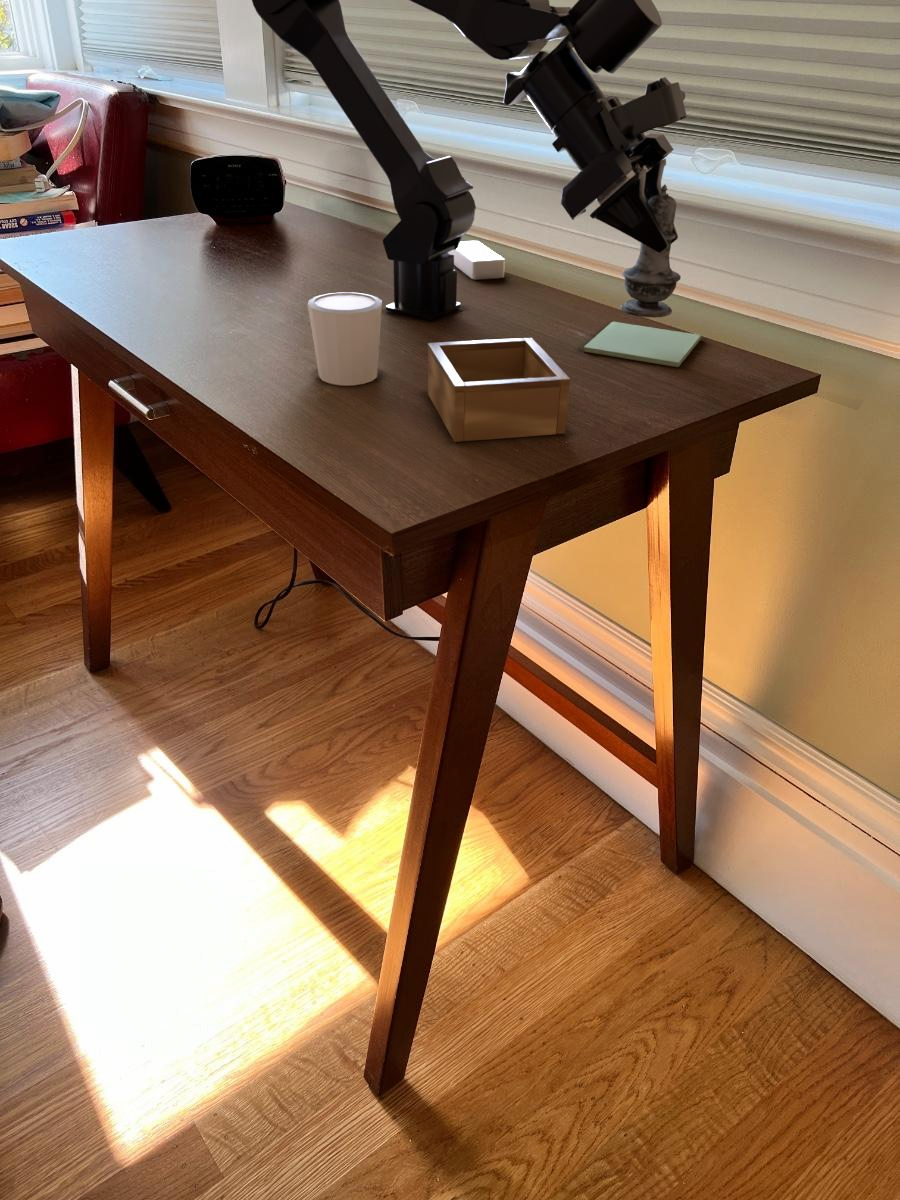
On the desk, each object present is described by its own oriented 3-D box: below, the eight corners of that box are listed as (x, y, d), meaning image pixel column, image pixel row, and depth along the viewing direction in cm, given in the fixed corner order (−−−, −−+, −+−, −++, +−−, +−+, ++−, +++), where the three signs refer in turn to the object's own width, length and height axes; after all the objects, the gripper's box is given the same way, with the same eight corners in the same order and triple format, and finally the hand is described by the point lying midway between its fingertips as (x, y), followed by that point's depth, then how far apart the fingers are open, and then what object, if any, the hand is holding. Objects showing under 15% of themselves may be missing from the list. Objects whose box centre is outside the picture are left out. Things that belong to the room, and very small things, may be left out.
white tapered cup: (355, 393, 83) (352, 316, 79) (297, 378, 86) (291, 303, 82) (398, 371, 88) (397, 298, 84) (341, 358, 91) (338, 286, 87)
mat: (583, 351, 94) (583, 346, 94) (611, 325, 101) (612, 321, 101) (678, 367, 90) (679, 362, 90) (700, 339, 98) (701, 334, 98)
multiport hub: (473, 279, 117) (473, 261, 115) (447, 259, 125) (447, 241, 124) (505, 277, 118) (506, 259, 116) (477, 257, 126) (477, 240, 125)
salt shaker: (686, 311, 94) (708, 186, 87) (650, 321, 90) (669, 192, 84) (642, 298, 97) (660, 177, 91) (605, 307, 94) (621, 182, 87)
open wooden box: (427, 394, 83) (427, 342, 80) (528, 387, 85) (531, 337, 82) (453, 442, 74) (454, 386, 72) (565, 434, 76) (571, 379, 74)
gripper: (611, 49, 75) (718, 206, 78) (668, 41, 89) (757, 175, 92) (516, 145, 82) (617, 286, 85) (583, 124, 96) (667, 246, 99)
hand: (669, 245), depth 90 cm, fingers closed on salt shaker, 3 cm apart
